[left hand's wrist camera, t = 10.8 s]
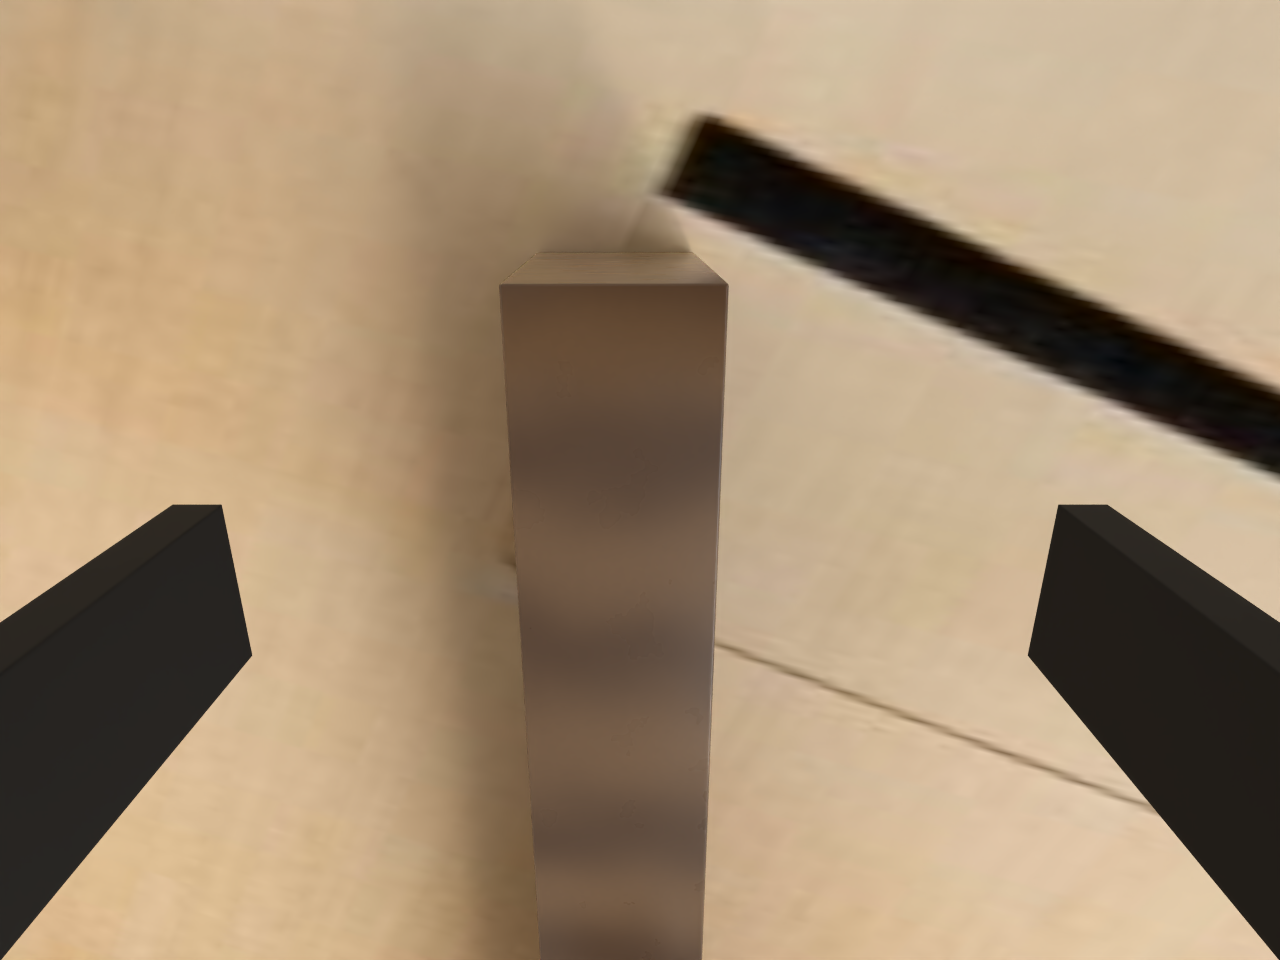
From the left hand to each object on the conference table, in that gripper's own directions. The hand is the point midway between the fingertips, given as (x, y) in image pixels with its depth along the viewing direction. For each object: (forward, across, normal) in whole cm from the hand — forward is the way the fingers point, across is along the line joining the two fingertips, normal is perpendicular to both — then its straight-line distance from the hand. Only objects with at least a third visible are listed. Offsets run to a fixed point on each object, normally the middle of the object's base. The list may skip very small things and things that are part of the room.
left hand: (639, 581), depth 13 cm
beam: (+13, -1, -32) cm, 35 cm away
